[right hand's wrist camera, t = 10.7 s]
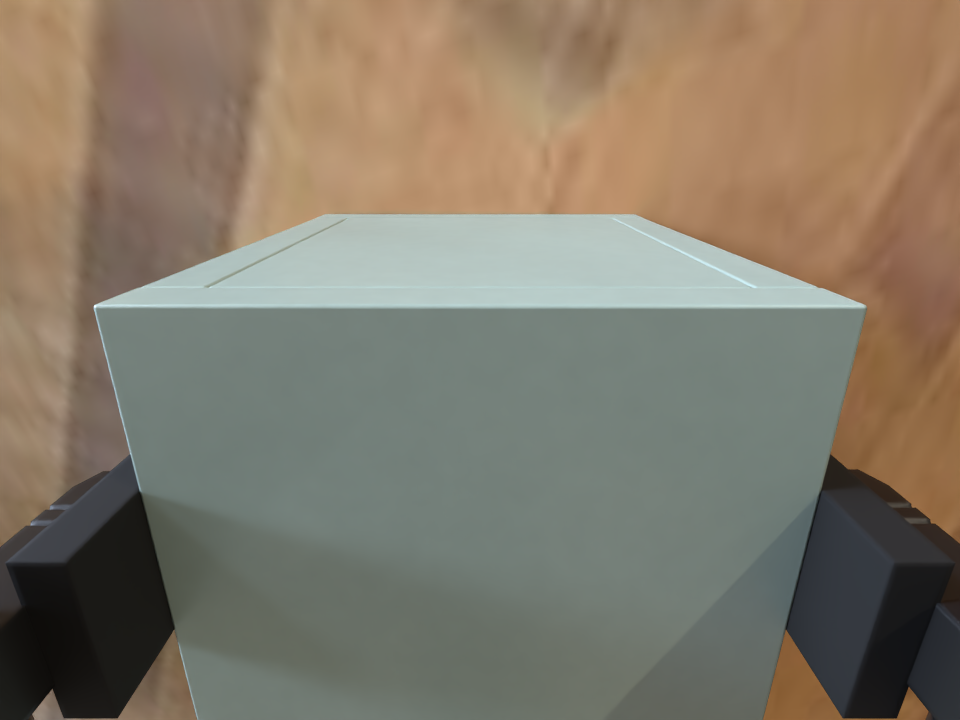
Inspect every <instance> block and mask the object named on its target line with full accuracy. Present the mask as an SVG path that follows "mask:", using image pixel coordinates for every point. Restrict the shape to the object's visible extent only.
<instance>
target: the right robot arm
mask: <svg viewBox="0 0 960 720" xmlns="http://www.w3.org/2000/svg"><path fill="white" fill-rule="evenodd" d="M786 630H787V632H788V633H789V635H790V636H791V638H792V639H793V641H794V642H795V644H796V646H797V647H798V649H799V650H800V652H801V653H802V655H803V657H804V658H805V660H806V661H807V663H808V664H809V666H810V668H811V669H812V671H813V672H814V674H815V675H816V677H817V678H818V680H819V682H820V683H821V685H822V686H823V688H824V689H825V691H826V693H827V694H828V696H829V697H830V699H831V700H832V702H833V704H834V705H835V707H836V708H837V710H838V711H839V713H840V715H841V716H842V718H897V716H898V714H899V711H900V708H901V706H902V703H903V700H904V698H905V695H906V692H907V690H908V687H910V688H911V690H912V691H913V692H914V693H915V695H916V696H917V697H918V698H919V700H920V701H921V702H922V703H923V705H924V706H925V707H926V708H927V710H928V711H929V713H928V715H927V717H926V720H960V544H959V543H958V542H957V541H956V540H954V539H953V538H952V537H951V536H950V535H948V534H947V533H946V532H945V531H943V530H942V529H941V528H940V527H939V526H937V525H936V524H931V522H930V519H929V518H928V517H926V516H925V515H924V514H923V513H922V512H920V511H919V510H918V509H917V508H912V507H911V503H909V502H908V501H907V500H906V499H904V498H903V497H902V496H901V495H900V494H898V493H897V492H896V491H895V490H893V489H892V488H891V487H890V486H889V485H887V484H885V483H883V482H881V481H879V480H877V479H875V478H873V477H871V476H869V475H868V474H866V473H864V472H862V471H860V470H848V469H847V468H846V467H844V466H843V465H842V464H841V463H840V462H839V461H838V460H836V459H835V458H834V457H833V456H832V455H831V454H830V457H829V461H828V465H827V469H826V472H825V476H824V480H823V484H822V488H821V492H820V496H819V500H818V504H817V508H816V512H815V516H814V520H813V524H812V528H811V532H810V536H809V540H808V543H807V547H806V551H805V555H804V559H803V563H802V567H801V571H800V575H799V579H798V583H797V587H796V591H795V595H794V599H793V603H792V607H791V611H790V614H789V618H788V622H787V626H786ZM173 631H174V625H173V621H172V617H171V613H170V609H169V605H168V601H167V597H166V594H165V590H164V586H163V582H162V578H161V574H160V570H159V566H158V562H157V558H156V554H155V550H154V546H153V542H152V538H151V534H150V530H149V526H148V522H147V518H146V514H145V510H144V506H143V502H142V498H141V494H140V490H139V486H138V482H137V478H136V474H135V470H134V466H133V462H132V458H131V454H130V455H129V456H127V457H126V458H125V459H124V460H123V461H122V462H121V463H119V464H118V465H117V466H116V467H115V468H114V469H113V470H111V471H103V472H101V473H99V474H97V475H95V476H93V477H91V478H90V479H88V480H86V481H84V482H82V483H80V484H78V485H76V486H74V487H72V488H71V489H70V490H69V491H68V492H66V493H65V494H64V495H63V496H62V497H60V498H59V499H58V500H57V501H55V502H54V503H53V504H52V505H51V506H50V509H49V510H45V511H43V512H42V513H41V514H40V515H39V516H37V517H36V518H35V519H34V520H33V521H31V525H30V526H25V527H24V528H23V529H22V530H20V531H19V532H18V533H17V534H16V535H14V536H13V537H12V538H11V539H10V540H8V541H7V542H6V543H5V544H3V545H2V546H1V547H0V720H34V717H33V715H32V713H33V712H34V711H35V710H36V708H37V707H38V706H39V705H40V703H41V702H42V701H43V700H44V698H45V697H46V696H47V695H48V693H49V692H50V691H51V690H52V688H53V691H54V694H55V696H56V699H57V701H58V704H59V707H60V709H61V712H62V715H63V717H64V718H118V717H119V715H120V714H121V712H122V710H123V709H124V707H125V706H126V704H127V703H128V701H129V700H130V698H131V696H132V695H133V693H134V692H135V690H136V689H137V687H138V685H139V684H140V682H141V681H142V679H143V678H144V676H145V674H146V673H147V671H148V670H149V668H150V667H151V665H152V663H153V662H154V660H155V659H156V657H157V656H158V654H159V653H160V651H161V649H162V648H163V646H164V645H165V643H166V642H167V640H168V638H169V637H170V635H171V634H172V632H173Z"/></svg>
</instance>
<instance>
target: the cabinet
mask: <svg viewBox="0 0 960 720" xmlns="http://www.w3.org/2000/svg"><path fill="white" fill-rule="evenodd" d="M94 311H95V315H96V319H97V323H98V327H99V331H100V335H101V339H102V343H103V347H104V351H105V355H106V359H107V363H108V367H109V371H110V375H111V379H112V383H113V387H114V391H115V395H116V399H117V402H118V406H119V410H120V414H121V418H122V422H123V426H124V430H125V434H126V438H127V442H128V446H129V450H130V454H131V458H132V462H133V466H134V470H135V474H136V478H137V482H138V486H139V490H140V494H141V498H142V502H143V506H144V510H145V514H146V518H147V522H148V526H149V530H150V534H151V538H152V542H153V546H154V550H155V554H156V558H157V562H158V566H159V570H160V574H161V578H162V582H163V586H164V590H165V594H166V597H167V601H168V605H169V609H170V613H171V617H172V621H173V625H174V629H175V633H176V637H177V641H178V645H179V649H180V653H181V657H182V661H183V665H184V669H185V673H186V677H187V681H188V685H189V689H190V693H191V697H192V701H193V705H194V709H195V713H196V717H197V720H763V717H764V713H765V709H766V705H767V701H768V697H769V693H770V689H771V685H772V682H773V678H774V674H775V670H776V666H777V662H778V658H779V654H780V650H781V646H782V642H783V638H784V634H785V630H786V626H787V622H788V618H789V614H790V611H791V607H792V603H793V599H794V595H795V591H796V587H797V583H798V579H799V575H800V571H801V567H802V563H803V559H804V555H805V551H806V547H807V543H808V540H809V536H810V532H811V528H812V524H813V520H814V516H815V512H816V508H817V504H818V500H819V496H820V492H821V488H822V484H823V480H824V476H825V472H826V469H827V465H828V461H829V457H830V453H831V449H832V445H833V441H834V437H835V433H836V429H837V425H838V421H839V417H840V413H841V409H842V405H843V401H844V398H845V394H846V390H847V386H848V382H849V378H850V374H851V370H852V366H853V362H854V358H855V354H856V350H857V346H858V342H859V338H860V334H861V330H862V327H863V323H864V319H865V315H866V311H867V306H866V305H864V304H861V303H859V302H856V301H854V300H851V299H849V298H846V297H844V296H841V295H838V294H836V293H833V292H831V291H828V290H826V289H823V288H818V287H816V286H814V285H811V284H809V283H806V282H803V281H801V280H798V279H796V278H793V277H791V276H788V275H786V274H783V273H781V272H778V271H776V270H773V269H770V268H768V267H765V266H763V265H760V264H758V263H755V262H753V261H750V260H748V259H745V258H743V257H740V256H737V255H735V254H732V253H730V252H727V251H725V250H722V249H720V248H717V247H715V246H712V245H710V244H707V243H705V242H702V241H699V240H697V239H694V238H692V237H689V236H687V235H684V234H682V233H679V232H677V231H674V230H672V229H669V228H666V227H664V226H661V225H659V224H656V223H654V222H651V221H649V220H646V219H644V218H642V217H640V216H637V215H634V214H325V215H322V216H320V217H317V218H316V219H313V220H311V221H308V222H305V223H303V224H300V225H298V226H295V227H293V228H290V229H288V230H285V231H283V232H280V233H277V234H275V235H272V236H270V237H267V238H265V239H262V240H260V241H257V242H255V243H252V244H250V245H247V246H244V247H242V248H239V249H237V250H234V251H232V252H229V253H227V254H224V255H222V256H219V257H217V258H214V259H211V260H209V261H206V262H204V263H201V264H199V265H196V266H194V267H191V268H189V269H186V270H184V271H181V272H178V273H176V274H173V275H171V276H168V277H166V278H163V279H161V280H158V281H156V282H153V283H151V284H148V285H145V286H143V287H141V288H136V289H134V290H131V291H129V292H126V293H124V294H121V295H119V296H116V297H114V298H111V299H108V300H106V301H103V302H101V303H98V304H96V305H95V306H94Z"/></svg>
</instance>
